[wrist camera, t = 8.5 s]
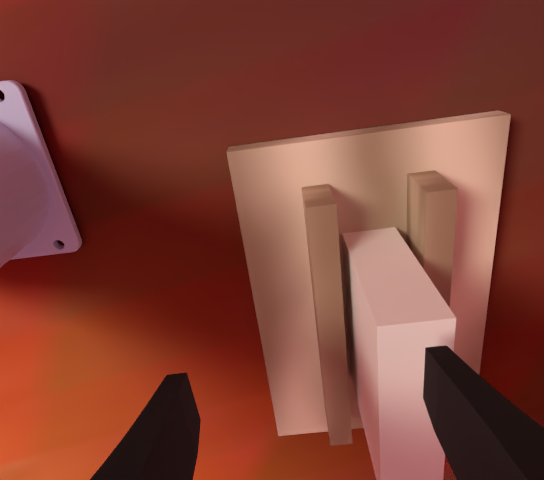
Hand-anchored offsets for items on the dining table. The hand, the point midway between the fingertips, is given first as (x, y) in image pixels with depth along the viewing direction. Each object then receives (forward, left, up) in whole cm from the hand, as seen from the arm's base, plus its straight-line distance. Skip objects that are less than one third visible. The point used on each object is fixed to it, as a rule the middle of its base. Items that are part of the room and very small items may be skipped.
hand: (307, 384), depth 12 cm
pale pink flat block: (+4, -4, -8) cm, 10 cm away
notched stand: (+4, -4, -9) cm, 11 cm away
